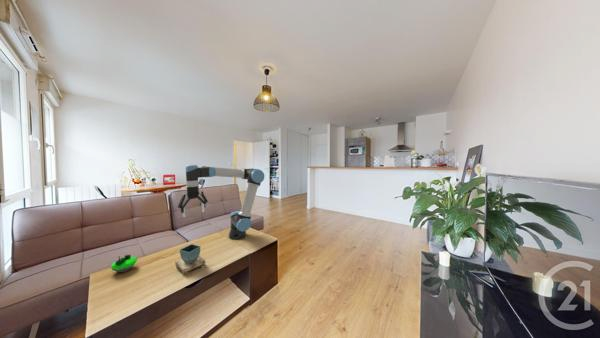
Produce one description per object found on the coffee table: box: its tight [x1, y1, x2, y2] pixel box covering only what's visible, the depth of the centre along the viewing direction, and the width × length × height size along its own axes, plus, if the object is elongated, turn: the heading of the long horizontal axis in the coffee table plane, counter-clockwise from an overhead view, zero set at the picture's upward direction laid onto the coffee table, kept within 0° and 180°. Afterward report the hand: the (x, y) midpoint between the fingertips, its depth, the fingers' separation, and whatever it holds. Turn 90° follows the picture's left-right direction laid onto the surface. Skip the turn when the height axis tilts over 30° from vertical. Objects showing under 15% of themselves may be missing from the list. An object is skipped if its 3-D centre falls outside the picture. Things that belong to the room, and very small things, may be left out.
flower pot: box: [179, 243, 201, 264], centre depth 118 cm, size 9×9×9 cm
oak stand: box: [175, 255, 206, 276], centre depth 119 cm, size 13×13×4 cm
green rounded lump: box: [110, 254, 138, 273], centre depth 115 cm, size 12×12×11 cm
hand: (194, 214), depth 133 cm, fingers open, 13 cm apart
